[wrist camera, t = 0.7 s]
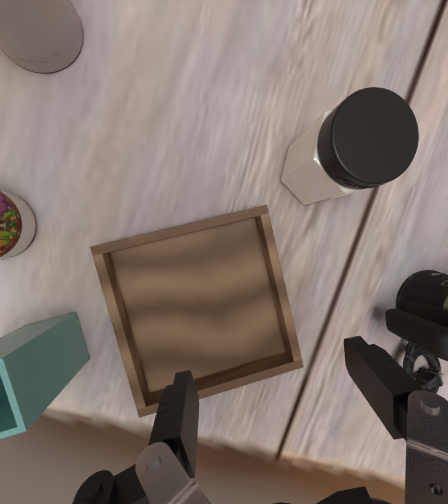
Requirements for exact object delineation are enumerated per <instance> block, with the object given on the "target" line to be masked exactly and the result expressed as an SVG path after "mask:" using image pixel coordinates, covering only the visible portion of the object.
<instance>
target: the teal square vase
mask: <svg viewBox="0 0 448 504" xmlns="http://www.w3.org/2000/svg"><path fill="white" fill-rule="evenodd" d="M89 359H90V357H89V354H88V350H87V347H86V344H85V340H84V337H83V334H82V330H81V327H80V324H79V320H78V317H77V314H76V312H74V313H70V314H67V315H63V316H59V317H55V318H51V319H48V320H44V321H40V322H36V323H32V324H28V325H25V326H23V327H21V328H19V329H17V330H15V331H13V332H11V333H9V334H7V335H5V336H3V337H1V338H0V439H1V438H5V437H8V436H11V435H15V434H18V433H22V432H25V431H27V430H28V429H29V428H30V426H31V425H32V424H33V423H34V422H35V421H36V419H37V418H38V417H39V416H40V415H41V414H42V413H43V411H44V410H45V409H46V408H47V407H48V406H49V405H50V403H51V402H52V401H53V400H54V399H55V398H56V397H57V395H58V394H59V393H60V392H61V391H62V390H63V389H64V387H65V386H66V385H67V384H68V383H69V382H70V380H71V379H72V378H73V377H74V376H75V375H76V374H77V372H78V371H79V370H80V369H81V368H82V367H83V366H84V364H85V363H86V362H87V361H88V360H89Z"/></svg>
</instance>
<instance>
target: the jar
mask: <svg viewBox="0 0 448 504" xmlns="http://www.w3.org/2000/svg"><path fill="white" fill-rule="evenodd" d="M418 139H419V133H418V125H417V121H416V118H415V115H414V113H413V111H412V110H411V108H410V106H409V105H408V104H407V103H406V101H405V100H404V99H403V98H402V97H400V96H399V95H398V94H396V93H394V92H392V91H390V90H387V89H384V88H378V87H370V88H364V89H361V90H358V91H356V92H354V93H353V94H351V95H350V96H348V97H347V98H346V99H345V100H344V101H343V102H341V103H340V104H339V105H338V106H337V107H336V108H335V109H332V110H328V111H325V112H324V113H323V114H322V115H321V116H320V117H319V118H318V119H317V120H316V121H315V122H314V123H312V124H311V125H310V126H309V127H308V128H307V129H306V130H305V131H304V132H303V133H302V134H301V135H300V136H299V137H298V138H297V139H296V140H295V141H294V142H293V143H292V144H291V145H290V146H289V147H288V152H287V156H286V160H285V164H284V168H283V172H282V176H281V182H282V183H283V184H284V185H285V186H286V187H287V188H288V189H289V190H290V191H291V192H292V193H293V194H294V195H295V196H296V197H297V198H298V199H299V200H300V201H301V202H302V203H303V204H304V205H308V204H311V203H315V202H318V201H322V200H325V199H327V200H330V199H333V198H337V197H340V196H344V195H347V194H350V193H354V192H356V190H359V189H366V188H372V187H376V186H380V185H383V184H384V183H387V182H390V181H392V180H394V179H395V178H397V177H399V176H400V175H401V174H402V173H403V172H404V171H405V170H406V169H407V168H408V167H409V165H410V164H411V162H412V160H413V158H414V156H415V154H416V151H417V147H418Z"/></svg>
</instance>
